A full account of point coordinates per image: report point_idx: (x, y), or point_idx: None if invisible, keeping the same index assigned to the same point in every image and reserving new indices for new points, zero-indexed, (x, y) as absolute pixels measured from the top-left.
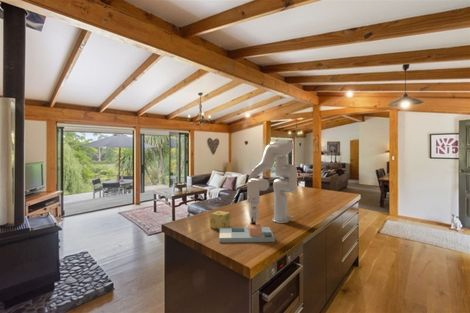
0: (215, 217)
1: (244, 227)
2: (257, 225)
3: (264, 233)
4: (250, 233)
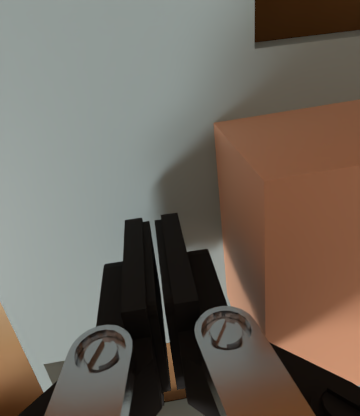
0: None
1: (28, 359)
2: (351, 238)
3: (246, 12)
4: None
